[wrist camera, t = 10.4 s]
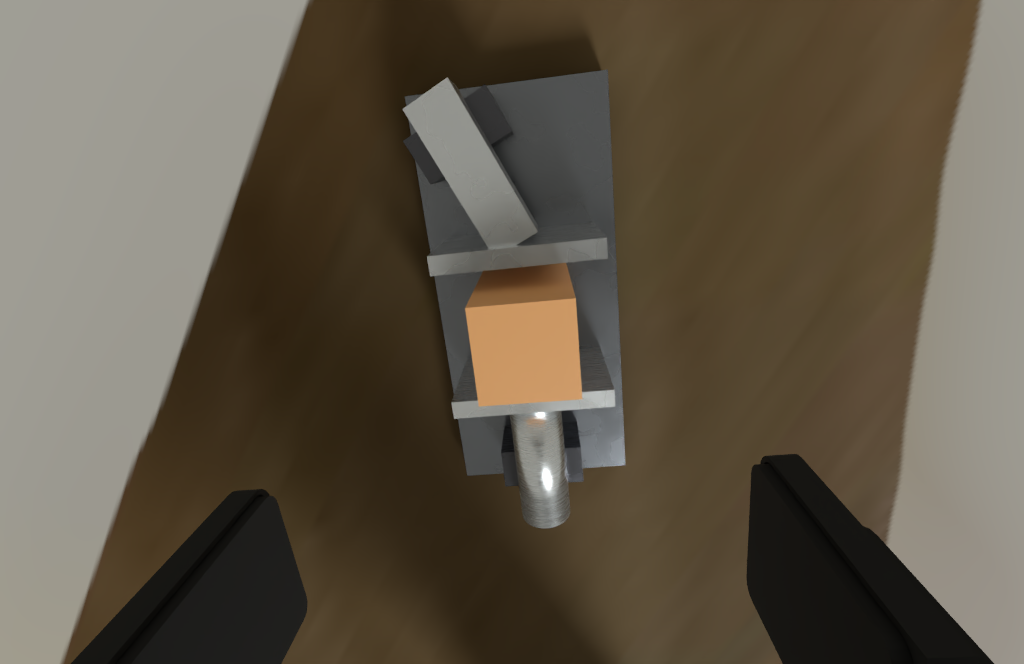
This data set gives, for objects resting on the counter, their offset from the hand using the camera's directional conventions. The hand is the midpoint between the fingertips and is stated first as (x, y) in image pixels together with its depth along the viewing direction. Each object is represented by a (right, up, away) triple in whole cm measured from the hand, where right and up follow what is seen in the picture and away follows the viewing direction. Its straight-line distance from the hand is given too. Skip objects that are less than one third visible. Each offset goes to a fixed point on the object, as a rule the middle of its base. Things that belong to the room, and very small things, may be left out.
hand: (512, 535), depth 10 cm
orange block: (+1, +5, +15) cm, 16 cm away
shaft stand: (+1, +6, +17) cm, 18 cm away
